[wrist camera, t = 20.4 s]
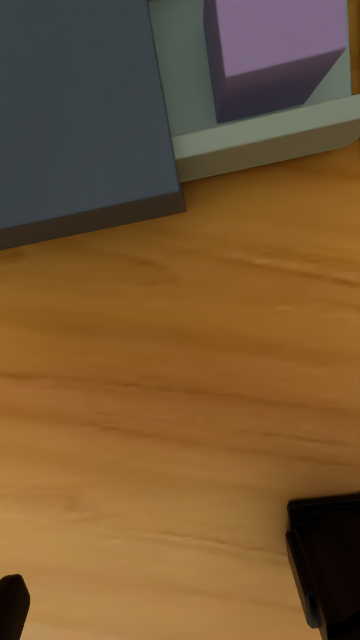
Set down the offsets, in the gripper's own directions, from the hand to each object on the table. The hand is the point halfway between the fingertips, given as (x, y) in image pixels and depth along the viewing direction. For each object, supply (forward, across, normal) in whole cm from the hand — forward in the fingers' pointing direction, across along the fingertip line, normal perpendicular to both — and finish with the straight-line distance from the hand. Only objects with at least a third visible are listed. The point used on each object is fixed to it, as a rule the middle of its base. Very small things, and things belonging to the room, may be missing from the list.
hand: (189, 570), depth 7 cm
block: (+10, -5, -15) cm, 19 cm away
